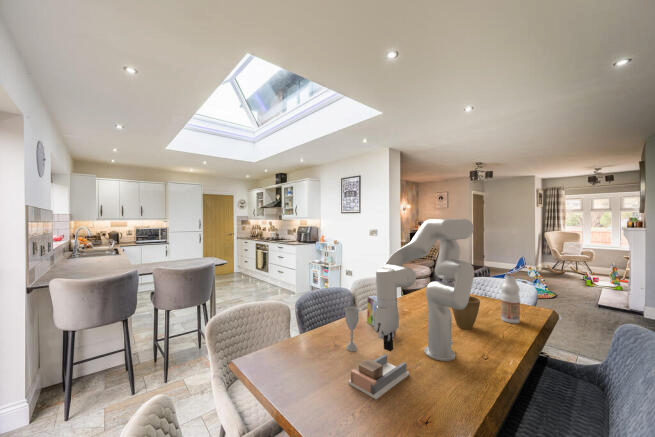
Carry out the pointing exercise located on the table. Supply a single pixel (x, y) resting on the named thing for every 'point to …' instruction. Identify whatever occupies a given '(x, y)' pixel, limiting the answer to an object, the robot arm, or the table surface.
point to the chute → (382, 384)
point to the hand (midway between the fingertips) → (388, 349)
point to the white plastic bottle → (510, 300)
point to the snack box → (372, 310)
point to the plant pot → (467, 314)
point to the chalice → (351, 324)
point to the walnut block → (371, 369)
